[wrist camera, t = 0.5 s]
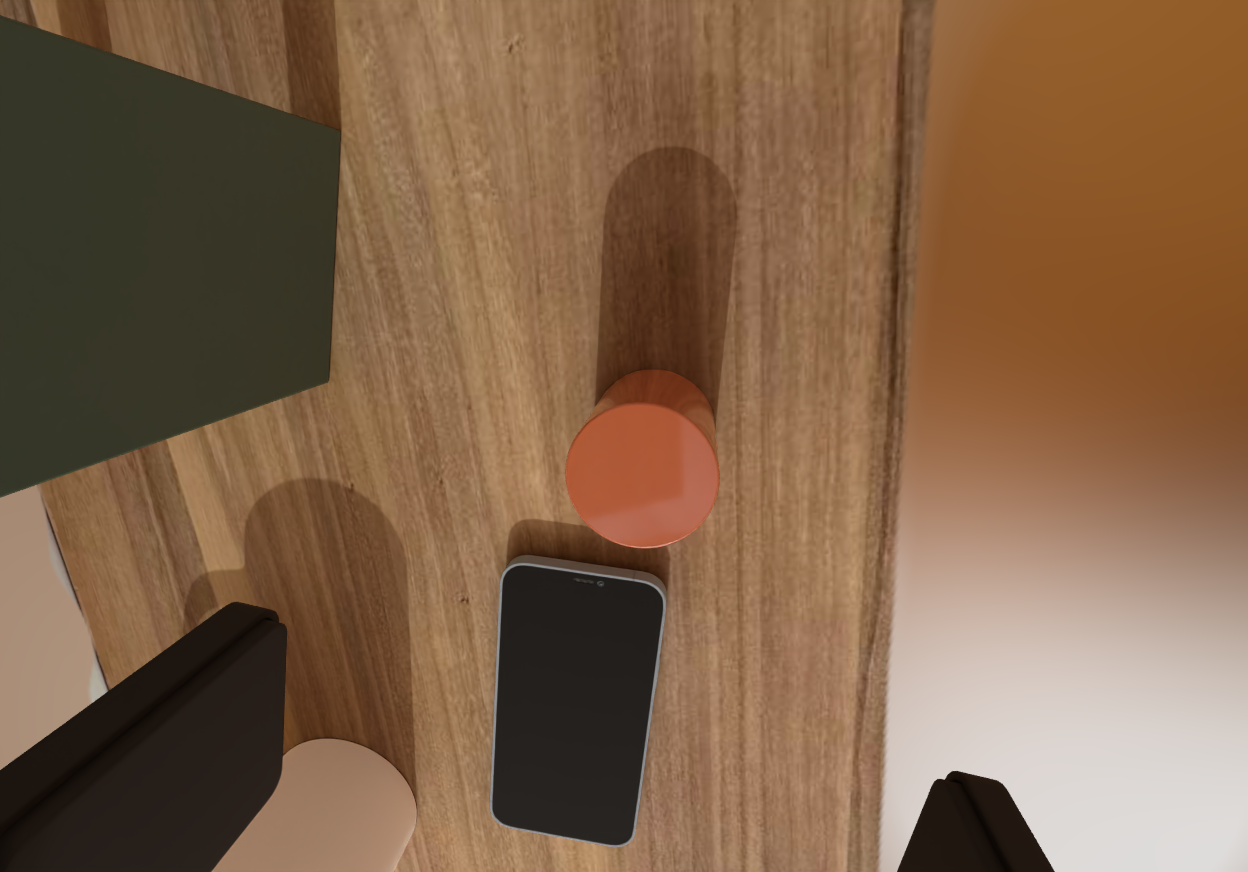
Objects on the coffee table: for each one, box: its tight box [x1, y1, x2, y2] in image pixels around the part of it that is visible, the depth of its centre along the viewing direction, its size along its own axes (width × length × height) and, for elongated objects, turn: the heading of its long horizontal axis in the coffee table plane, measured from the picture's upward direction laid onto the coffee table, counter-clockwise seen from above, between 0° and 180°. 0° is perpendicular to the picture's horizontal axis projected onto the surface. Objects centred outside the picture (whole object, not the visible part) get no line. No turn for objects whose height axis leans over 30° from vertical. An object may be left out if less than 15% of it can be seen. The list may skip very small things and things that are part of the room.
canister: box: [565, 369, 720, 548], centre depth 23 cm, size 5×5×6 cm
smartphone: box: [490, 555, 667, 847], centre depth 30 cm, size 7×1×15 cm
